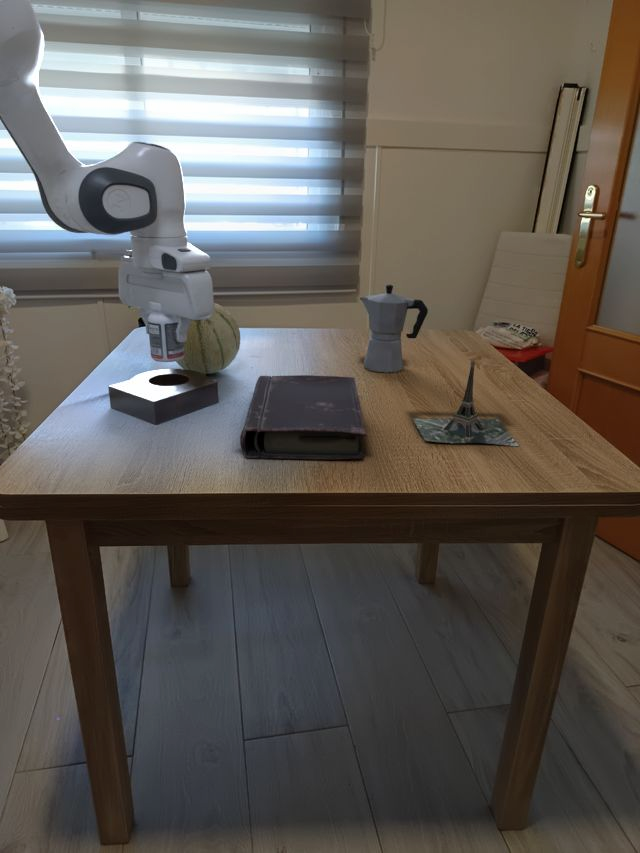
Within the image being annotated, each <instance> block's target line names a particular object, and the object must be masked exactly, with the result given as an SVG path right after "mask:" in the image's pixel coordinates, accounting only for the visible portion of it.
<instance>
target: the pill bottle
mask: <svg viewBox="0 0 640 853" xmlns="http://www.w3.org/2000/svg"><path fill="white" fill-rule="evenodd" d="M149 308H150V309H151V311H152V313H151V314H150V315H149V316H148V328H149V334H148V337H149V348H150V350H149V351H150V357H151V359H152V360H153V361H155V362H159V363H160V362H161V363H172V362H176V361H178V360H181V359H183V358H184V356H185V351H184V342H177V341H174V340H173V337H174V336H173V331H176V329H177V326H178V322H176V317H175V316H174V315H169V314H165V313H162V312H161V311H162V310H161V304H159V303H154V302H150V301H149Z"/></svg>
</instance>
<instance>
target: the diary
mask: <svg viewBox="0 0 640 853" xmlns="http://www.w3.org/2000/svg"><path fill="white" fill-rule="evenodd" d="M360 403H361V402H360V396H359V393H358V388H357V383H356V378H355V377H354V376H335V375H312V374H311V375H307V374H304V375H303V374H301V375H299V374H298V375H297V374H296V375H295V374H294V375H272V376H271V375H260V376H258V378H257V380H256V382H255V386H254V390H253V394H252V398H251V401H250V404H249V407H248V409H247V414H246V417H245V421H244V425H243V428H242V431H241V433H240V436H239V441H240V442H239V445H240V448H241V452H242V455H243V457H244V458H245V459H246V458H247V459H249V458H251V459H253V458H254V459H258V458H260V459H289V460H291V459H292V460H294V459H295V460H324V461H327V460H328V461H331V460H359V459H361V458H365V457H366V456H365V453H364V449H363V444H362V439H361V438H362V437H361V436H364V437H366V436H367V431H366V425H365V422H364V418H363V412H362V409H361V404H360Z"/></svg>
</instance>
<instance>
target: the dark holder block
mask: <svg viewBox="0 0 640 853" xmlns="http://www.w3.org/2000/svg"><path fill="white" fill-rule="evenodd" d="M107 389H108V398H109V405H110V408H111V409H112V410H115V411H119V412H121V413H123V414H126V415H128V416H132V417H134V418H136V419H139V420H142V421H144V422H147V423H150V424H152V425H156V426H158V425H160V424H162V423H165V422H168V421H171V420H174V419H176V418H180V417H181V416H185V415H188V414H190V413H194V412H196V411H199V410H201V409H205V408H207V407H210V406H213V405H215V404H218V403H219V382H218V381H217V380H214V379H211V378H208V376H207V374H202V373H200V372H197V371H193V370H186V369H183V368H165V369H164V368H163V369H155V370H148V371H145V372H141V373H139V374H136V375H134V376H133V377H132V378H130V379H129V380H125V381H121V382H117V383H114V384H110V385H108V387H107Z"/></svg>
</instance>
